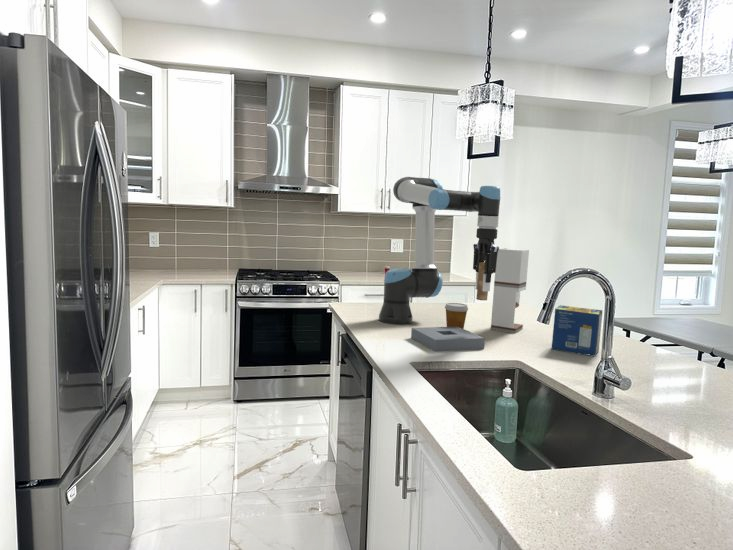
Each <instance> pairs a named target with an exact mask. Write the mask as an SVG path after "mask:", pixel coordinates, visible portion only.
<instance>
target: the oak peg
mask: <svg viewBox="0 0 733 550" xmlns="http://www.w3.org/2000/svg"><path fill="white" fill-rule="evenodd" d="M483 272H485V261H484V262H479V272H478V285H477V289H476V300H477V301H488V295H489V291H482V289H483V276H484V273H483Z"/></svg>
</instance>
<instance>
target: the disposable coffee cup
mask: <svg viewBox="0 0 733 550" xmlns="http://www.w3.org/2000/svg"><path fill="white" fill-rule="evenodd" d="M444 308H445V320H446V327H460V328H462V329H464V328H465V324H466V318H467V312H468V310H469V308H468V304H465V303H461V302H460V303H459V302H446V304H445V306H444ZM464 330H465V329H464Z"/></svg>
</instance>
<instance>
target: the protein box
mask: <svg viewBox="0 0 733 550" xmlns="http://www.w3.org/2000/svg"><path fill="white" fill-rule="evenodd" d="M602 318H603V310H602V309H595V308H593V309H592V308H587V307H586V308H585V307H578V306H567V305H561V304H560V305H558V306H557V307H556V308H554V317H553V319H554V320H553V330H552V340H551V341H552V342H551V347H550V348H551V350H556V351H561V352H566V351H567V352H568V353H572V352H573V354H578V353H580V354H579V355H584V354H590V355H595V354H596V353H597V354H598V352H599V351H600V343H601V342H600V341H601V339H600V338H601V328H602ZM597 354H596V355H597ZM590 355H589V356H590ZM596 355H595V356H596Z"/></svg>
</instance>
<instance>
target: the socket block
mask: <svg viewBox="0 0 733 550" xmlns="http://www.w3.org/2000/svg"><path fill="white" fill-rule="evenodd" d="M410 339H412V340H414V341H415V342H417V343H419V344H421V345H423V346H425V347H427V348H428V349H431V350H432V351H433V352H446V351H447V352H449V351H468V350H484V349H485V344H486V343H485V340H486V338H485V337H482V336H480V335H478V334H476V333H474V332H471V331H469V330H467V329H462V328H460V327H447V326H431V327H426V326H425V327H424V326H423V327H411V335H410Z"/></svg>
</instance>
